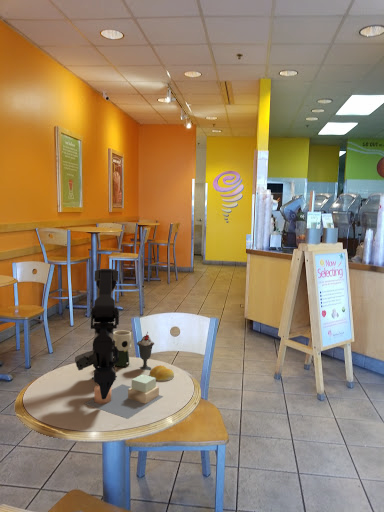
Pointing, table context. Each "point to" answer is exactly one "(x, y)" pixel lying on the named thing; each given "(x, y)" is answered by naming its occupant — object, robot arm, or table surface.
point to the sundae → (145, 350)
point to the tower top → (143, 383)
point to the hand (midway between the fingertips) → (103, 392)
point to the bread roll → (162, 373)
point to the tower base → (143, 395)
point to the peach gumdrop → (98, 397)
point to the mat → (122, 403)
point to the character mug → (122, 346)
